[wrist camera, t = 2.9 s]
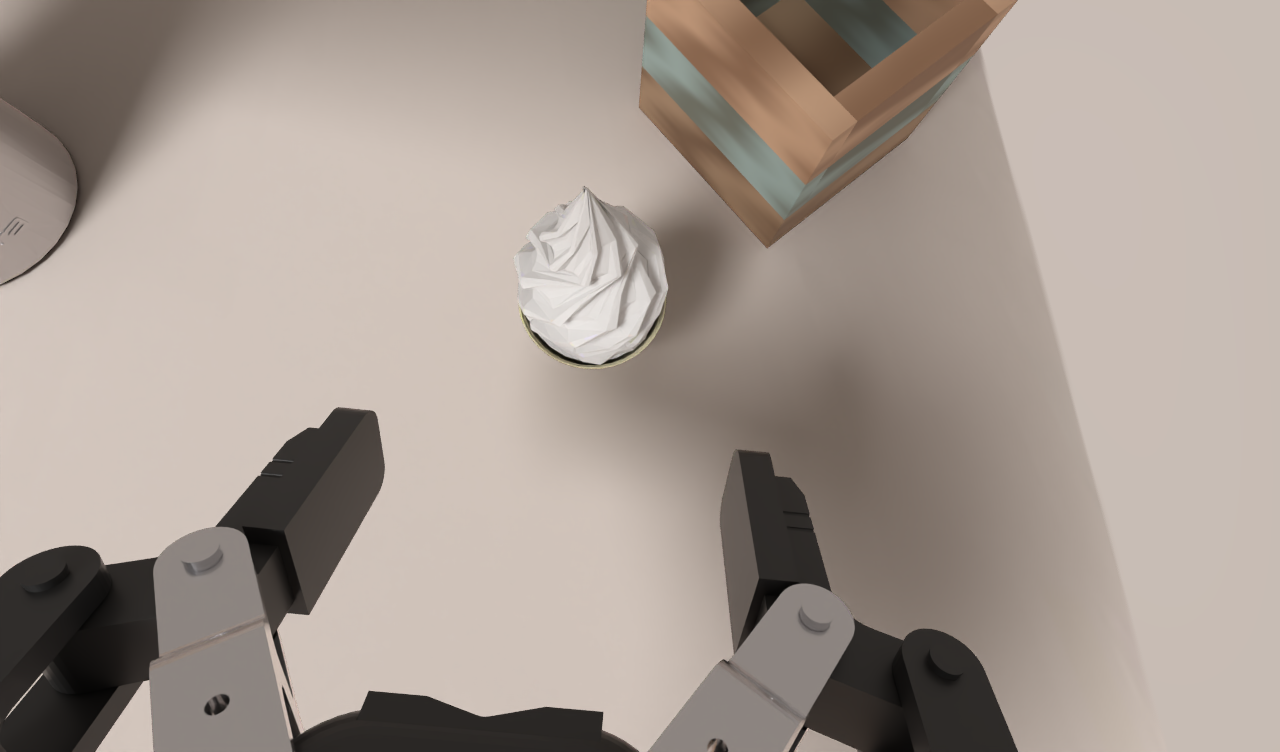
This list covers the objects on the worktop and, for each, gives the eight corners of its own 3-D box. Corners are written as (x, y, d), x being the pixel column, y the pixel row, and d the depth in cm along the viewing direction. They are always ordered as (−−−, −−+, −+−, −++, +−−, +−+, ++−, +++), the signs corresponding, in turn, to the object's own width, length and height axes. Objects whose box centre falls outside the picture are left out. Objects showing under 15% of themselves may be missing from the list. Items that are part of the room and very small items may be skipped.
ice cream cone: (643, 299, 29) (679, 88, 15) (656, 403, 28) (708, 285, 14) (538, 309, 29) (467, 102, 14) (547, 414, 28) (480, 307, 13)
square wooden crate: (639, 107, 32) (650, -49, 23) (779, 9, 33) (840, -171, 25) (767, 248, 30) (832, 140, 21) (906, 138, 32) (1020, -3, 23)
